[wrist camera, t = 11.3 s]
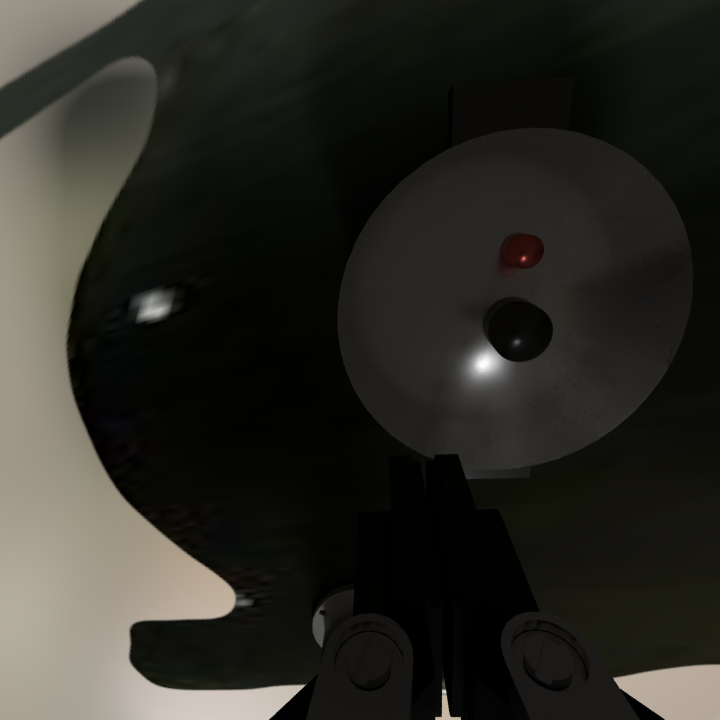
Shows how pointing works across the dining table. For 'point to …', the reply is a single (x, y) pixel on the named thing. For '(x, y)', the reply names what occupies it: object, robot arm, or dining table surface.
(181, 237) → the dining table surface
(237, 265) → the dining table surface
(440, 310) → the cooker lid
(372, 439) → the dining table surface
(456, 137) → the cooker pot
